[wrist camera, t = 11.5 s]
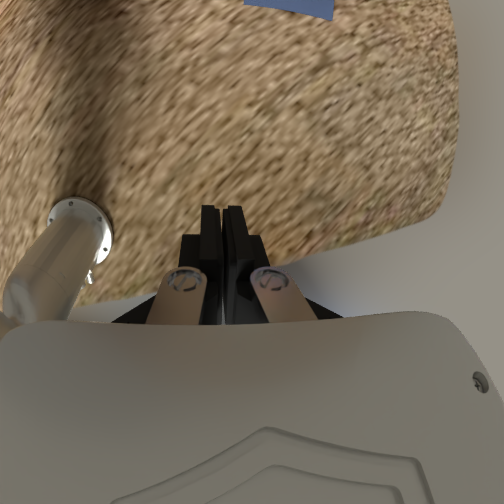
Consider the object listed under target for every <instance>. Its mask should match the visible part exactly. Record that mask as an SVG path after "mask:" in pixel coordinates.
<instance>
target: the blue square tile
mask: <svg viewBox="0 0 504 504" xmlns="http://www.w3.org/2000/svg"><path fill="white" fill-rule="evenodd" d="M244 5H254V6H262V7H269V8H275V9H281V10H287V11H292V12H297V13H302V14H306V15H311V16H315V17H319V18H322V19H326V20H330V21H332V18H333V7H334V0H244Z"/></svg>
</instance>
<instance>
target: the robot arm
mask: <svg viewBox="0 0 504 504" xmlns="http://www.w3.org/2000/svg"><path fill="white" fill-rule="evenodd" d="M112 244H113V231H112V227H111V224H110V222H109V220H108V218H107V216H106V215H105V213H104V212H103V211H102V210H101V209H100V208H99V207H98V206H97V205H96V204H94V203H93V202H91V201H90V200H87V199H85V198H81V197H68V198H64V199H63V200H61V201H59V202H58V203H57V204H56V205H55V206H54V207H53V208H52V210H51V211H50V213H49V216H48V220H47V228H46V229H45V230H44V232H43V233H42V234H41V235H40V236H39V238H38V239H37V240H36V241H35V242H34V244H33V245H32V246H31V247H30V249H29V250H28V251H27V253H26V254H25V255H24V256H23V258H22V259H21V260H20V262H19V263H18V264H17V266H16V267H15V269H14V270H13V271H12V273H11V274H10V276H9V277H8V279H7V281H6V284H5V287H4V292H3V313H2V312H1V311H0V504H504V403H503V401H502V399H501V397H500V395H499V393H498V390H497V389H496V387H495V385H494V383H493V381H492V379H491V377H490V376H489V374H488V372H487V370H486V368H485V367H484V365H483V363H482V362H481V360H480V358H479V357H478V355H477V354H476V352H475V350H474V349H473V348H472V346H471V345H470V343H469V342H468V341H467V339H466V338H465V336H464V335H463V334H462V333H461V331H460V330H459V329H458V328H457V327H456V326H455V325H454V324H453V323H452V322H451V321H450V320H449V319H447V318H444V317H442V316H439V315H436V314H432V313H427V312H418V311H405V312H393V313H382V314H373V315H364V316H356V317H346V318H344V317H342V316H340V315H338V314H336V313H334V312H332V311H330V310H328V309H326V308H324V307H322V306H321V305H319V304H317V303H315V302H313V301H311V300H309V299H307V298H305V297H304V296H303V294H302V293H301V291H300V290H299V288H298V286H297V285H296V284H295V282H294V280H293V279H292V277H291V276H290V275H289V274H288V273H287V272H286V271H284V270H282V269H279V268H276V267H270V264H269V261H268V258H267V255H266V252H265V249H264V245H263V242H262V239H261V237H260V235H249V234H248V230H247V226H246V222H245V218H244V215H243V211H242V207H241V206H228V209H223V219H222V232H221V222H220V210H219V209H215V207H214V205H202V209H201V232H200V235H199V234H183V235H182V242H181V249H180V257H179V265H178V268H174V269H172V270H170V271H169V272H167V273H166V274H165V276H164V277H163V279H162V282H161V284H160V287H159V289H158V292H157V294H156V295H155V296H153V297H152V298H150V299H148V300H147V301H145V302H143V303H142V304H140V305H138V306H137V307H135V308H134V309H132V310H130V311H129V312H127V313H125V314H124V315H122V316H120V317H119V318H117V319H116V320H114V321H112V322H111V323H106V322H88V321H69V320H67V319H68V317H69V315H70V312H71V310H72V308H73V305H74V303H75V301H76V298H77V296H78V294H79V292H80V290H81V289H82V288H84V287H85V285H86V284H85V279H87V282H88V283H93V282H94V281H95V279H94V276H93V274H92V270H93V268H94V266H95V265H96V264H98V263H100V262H102V261H103V260H104V259H105V258H106V257H107V255H108V254H109V252H110V250H111V248H112ZM222 297H223V303H224V314H225V323H226V325H221V322H222Z"/></svg>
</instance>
